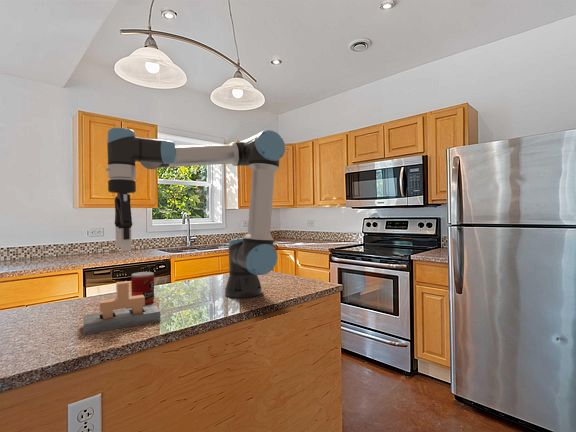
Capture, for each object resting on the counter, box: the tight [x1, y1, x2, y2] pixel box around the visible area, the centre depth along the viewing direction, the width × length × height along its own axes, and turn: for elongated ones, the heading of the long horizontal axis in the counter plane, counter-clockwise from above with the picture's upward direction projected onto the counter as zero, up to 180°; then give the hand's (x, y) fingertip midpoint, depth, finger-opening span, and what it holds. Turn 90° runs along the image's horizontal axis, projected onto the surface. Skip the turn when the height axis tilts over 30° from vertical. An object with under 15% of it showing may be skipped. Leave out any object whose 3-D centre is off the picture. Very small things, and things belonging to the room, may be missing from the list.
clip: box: [98, 280, 146, 319], centre depth 96 cm, size 12×4×12 cm, turn 124°
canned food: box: [130, 271, 155, 306], centre depth 118 cm, size 8×8×11 cm
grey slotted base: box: [83, 303, 161, 336], centre depth 96 cm, size 20×9×3 cm, turn 124°
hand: (123, 249), depth 96 cm, fingers open, 13 cm apart
